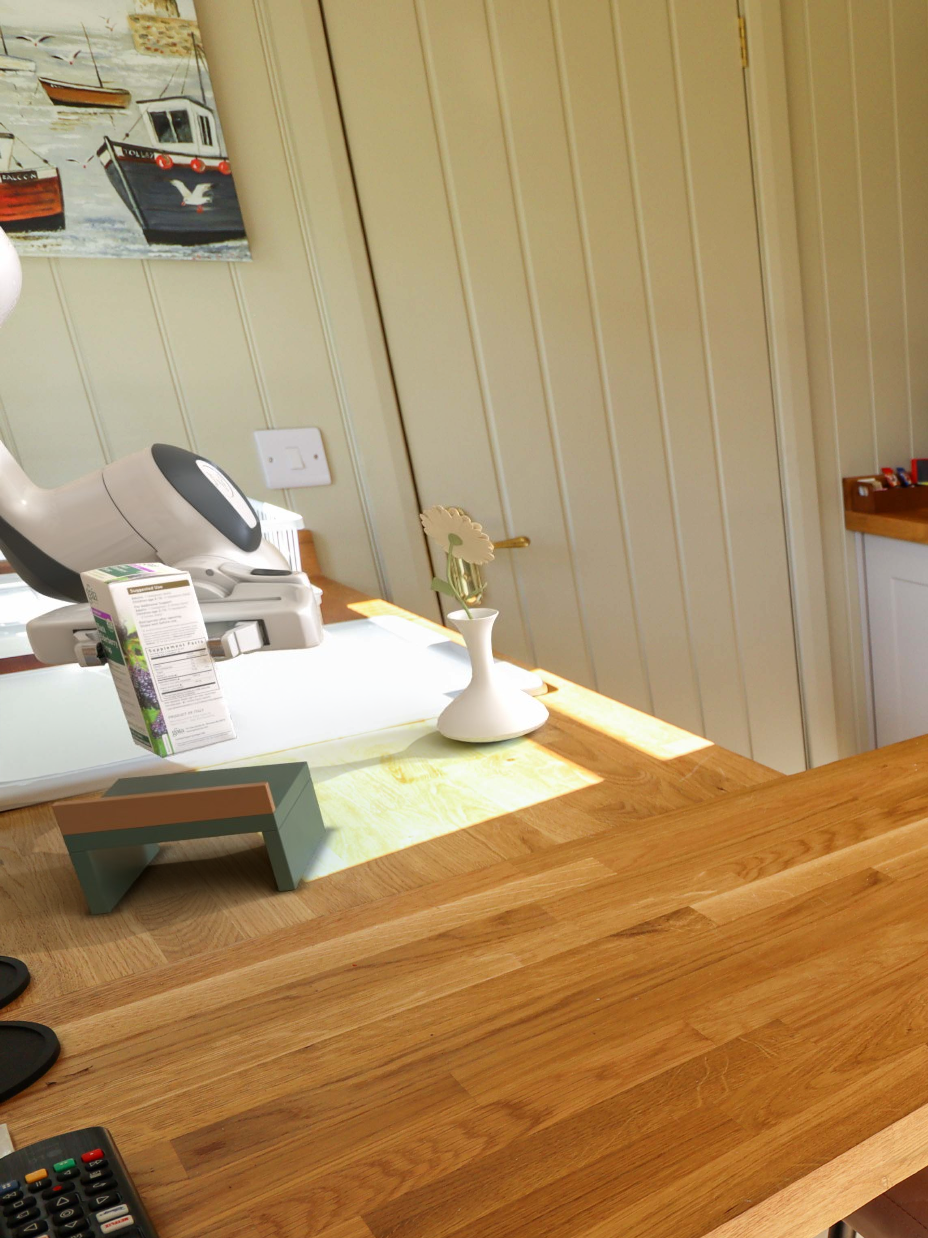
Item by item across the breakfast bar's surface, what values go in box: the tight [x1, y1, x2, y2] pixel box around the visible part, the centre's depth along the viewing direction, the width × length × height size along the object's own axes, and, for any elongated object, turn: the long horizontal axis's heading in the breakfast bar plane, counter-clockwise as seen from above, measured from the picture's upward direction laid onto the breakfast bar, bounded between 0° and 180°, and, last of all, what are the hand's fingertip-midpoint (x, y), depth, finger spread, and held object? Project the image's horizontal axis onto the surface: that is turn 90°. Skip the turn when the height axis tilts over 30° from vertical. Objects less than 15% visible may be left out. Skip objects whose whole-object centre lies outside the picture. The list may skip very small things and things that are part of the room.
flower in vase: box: [419, 504, 549, 743], centre depth 126 cm, size 13×11×25 cm
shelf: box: [50, 760, 326, 916], centre depth 97 cm, size 14×12×10 cm
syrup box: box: [80, 563, 237, 759], centre depth 94 cm, size 6×6×14 cm
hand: (155, 653), depth 93 cm, fingers closed on syrup box, 7 cm apart
